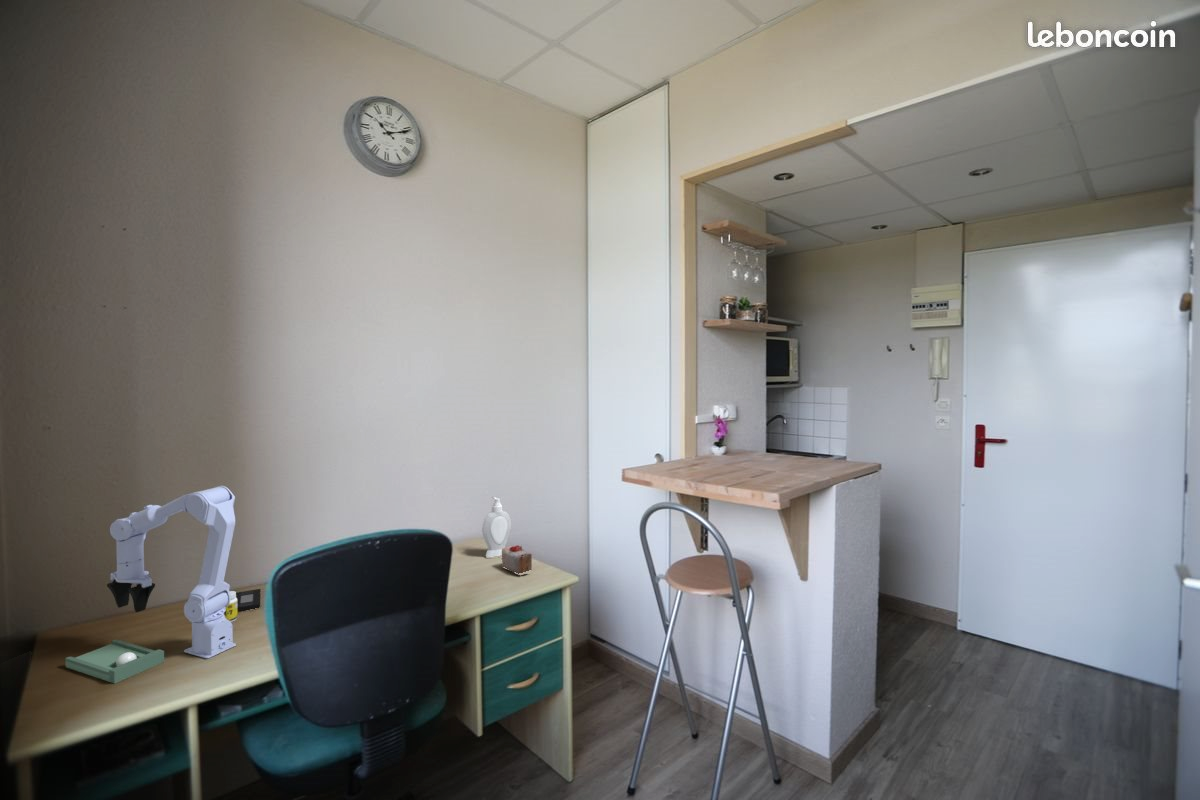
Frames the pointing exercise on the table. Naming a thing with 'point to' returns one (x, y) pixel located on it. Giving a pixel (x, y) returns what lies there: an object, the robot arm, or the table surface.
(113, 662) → the green tray
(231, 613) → the supplement bottle
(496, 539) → the soap bottle
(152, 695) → the table surface
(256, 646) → the table surface
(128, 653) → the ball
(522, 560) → the food item
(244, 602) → the vhs tape
